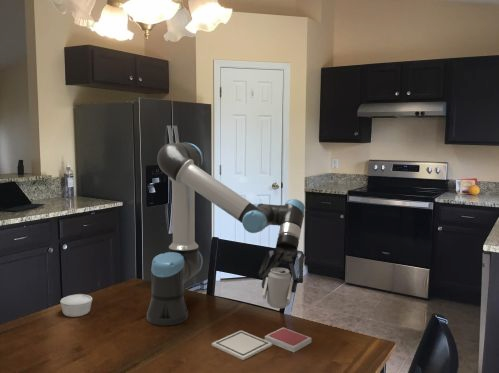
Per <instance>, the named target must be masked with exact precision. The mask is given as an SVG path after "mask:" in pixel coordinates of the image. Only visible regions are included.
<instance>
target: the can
mask: <svg viewBox="0 0 499 373" xmlns="http://www.w3.org/2000/svg"><path fill="white" fill-rule="evenodd" d="M290 272H291V270H289V269H288V268H285V267H276V268H272V269H271V272H270V273H269V274H268V291H267V295H266V303H267V304H268V305H269V307H271V308H273V309H285V308H287V307H288V306H290V304H291V302H290V303H288V300H287V297H288V292H289V286H290V282H291V280H292V273H290Z"/></svg>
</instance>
